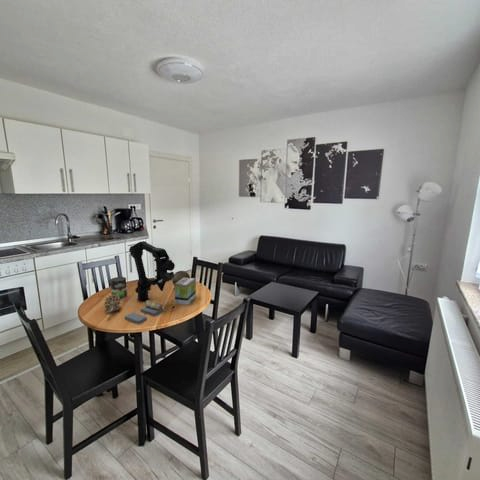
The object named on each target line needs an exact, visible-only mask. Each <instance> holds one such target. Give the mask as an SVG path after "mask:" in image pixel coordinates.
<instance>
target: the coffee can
mask: <svg viewBox="0 0 480 480" xmlns="http://www.w3.org/2000/svg"><path fill="white" fill-rule="evenodd" d="M109 281H110V292H111V294H110V296H111V295H112V294H113V295H114V294H117V296H118V295H119V297H120V298H119V299H121V300H120V301H122V300H124V299H127V298H128V290H127V278H126V277H125V276H117V277H112V278H111V279H110V280H109Z"/></svg>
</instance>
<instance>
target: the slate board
mask: <svg viewBox="0 0 480 480" xmlns="http://www.w3.org/2000/svg"><path fill="white" fill-rule="evenodd" d="M139 310H140V313H143V314H145V315H148V316H152V317H156V316H158V315H159V314H161V313H163V312H164V311H165V308H164V307H162V308H161V309H160V310H157V309H153V308H150V307H147V306H144V307H141V308H139ZM145 315H142V314H138V313H136V312H131V313H128V314H127V315H124V320H125V321H128V322H131V323H134V324H137V325H141V324H142V323H144V322H147V321H148V318H147V316H145Z"/></svg>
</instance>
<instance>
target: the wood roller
mask: <svg viewBox="0 0 480 480" xmlns="http://www.w3.org/2000/svg"><path fill="white" fill-rule="evenodd" d="M146 306H147V307H150V308H153V309H157V310H160V309H161V308H163V304H162V303H160V302H156V301H152V300H150V299H148V300H146V301H144V307H146Z"/></svg>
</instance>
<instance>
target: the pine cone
mask: <svg viewBox="0 0 480 480" xmlns="http://www.w3.org/2000/svg"><path fill="white" fill-rule="evenodd" d="M119 298H120V297H119V295H118V296H117V294H114V295H113V294H112V295H111V294H110V295H108V296H107V297H106V298H105V301H104V308H105V310H106V312H105V313H106V314H110V313H113V312H116V311H118V309H119V308H120V306H121V301H122V300H121V299H119Z"/></svg>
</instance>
